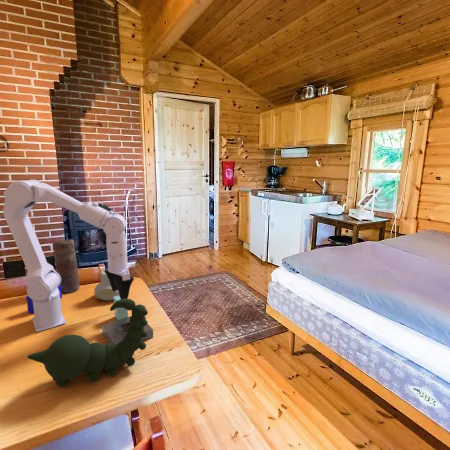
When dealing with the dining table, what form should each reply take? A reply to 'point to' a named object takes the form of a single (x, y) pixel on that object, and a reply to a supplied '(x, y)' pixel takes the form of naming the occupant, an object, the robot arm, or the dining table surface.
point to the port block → (121, 330)
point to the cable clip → (30, 301)
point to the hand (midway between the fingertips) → (120, 294)
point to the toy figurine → (94, 350)
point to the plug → (120, 310)
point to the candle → (66, 265)
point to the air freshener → (105, 289)
